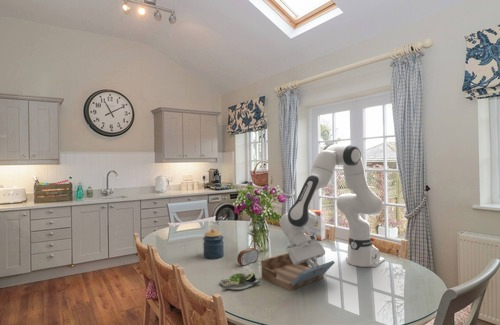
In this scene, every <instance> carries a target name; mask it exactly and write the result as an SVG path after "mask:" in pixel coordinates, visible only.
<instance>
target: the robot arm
mask: <svg viewBox="0 0 500 325" xmlns="http://www.w3.org/2000/svg"><path fill="white" fill-rule="evenodd" d="M337 166H342V170H343V177H344V183H345V187H346V188H347V189H349V190H350V191H352V192H353V193H343V194H339V196H338V197H337V198H336V207H337V209H338V210H339V211H340V212H341V213H342V214H343V215H344V217H345V219H346V220H347V223H348V233H349V236H348V246H347V254H346V255H347V256H345V259H346V261H347V264H349V265H352V266H355V267H362V268H364V267H367V268H368V267H371V268H377V267H378V266H379V265H380V264H382V263H384V262H385V258H384V257H382V256H381V255H380V250H379V249H378V248H377V247H376V246H375V245H374V244H373V242H375V240H376V239H375V237H371V226H370V224H369V222H368V221H367V220H365V219H363V217H361V215H368V216H371V215H378V214H380V213H381V212H382V211H383V208H384V203H383V200H382V198H381V197H380V196H378V195H376V193H375V192H374V191H373V190H372V189H371V188H370V187H369V184H368V182H367V177H366V172H365V166H364V162H363V159H362V153H361V150H360V148H359V147H358V146H356V145H352V144H342V143H340V144H328V145H326V146H323V148H322V150H321V151H319V153H318V154H317V156H316V158H315V160H314V161H313V164H312V166H311V167H312V168H311V169H310V172H309V173H308V174H309V175H308V177H307V178H306V180H305V182H304V183H303V185H302V188H301V190H300V192H299V193H298V194H299V195H298V196H297V198H296V200H295V202H294V203H293V205H292V206H291V207H290V208H289V210H288V211H287V212H285V213H284V214H283V215H282V216H281V217H280V219H279V225H280V228H281V230H282V232H283V234H284V235H285V236H286V238H287V239H288V242H289V243H290V245H287V247H286V251H287V253H289V256H290V259H291V261H292V263H293V264H295V265H297V264H300V263H303V262H307V264H309V266H310V267H312V268H314V267H317V266H319V265H320V264H319V263H318V259H319V258H322V257H323V256H324V255H326V249H325V248H324V247H323V245H322V244H321V242H319V240H317V238H316V237H315V236H311V235H307V234H306V231H307V230H309V229H310V228H312V227H314V225H315V224H316V221H317V218H316V215H315V214H314V213H313V212H312V211H310V210H309V207H310V204H311V201H312V200H313V197H314V195H315V193H316V192H317V191H318V190H320V189H323V188H326V187H327V186H329V184H330V182H331V180H332V178H333V176H334V173H335V170H336V167H337Z"/></svg>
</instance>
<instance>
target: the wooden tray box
mask: <svg viewBox="0 0 500 325" xmlns="http://www.w3.org/2000/svg"><path fill="white" fill-rule="evenodd" d="M260 262H261V279H263V280H265V281H267V282H270V283H272V284H275V285H277V286H279V287H281V288H283V289H285V290H288V291H291V290H294V289H296V288H299V287H302V286H304V285H307V284H310V283H312V282H314V281H317V280H319V279H322V278H324V276H325V274H323V275H320V276H317V277H315V278H312V279H309V280H307V281H304V282H302V283H299V284H296V285H294V286H293V285H292V284H291V283H292V282H293V281H294V280H295V279H296V278H297V276H298V275H299V274H300V273H301V272H302V271H305V270H308V269H311V268H312V267H311V266H310V265H309V264H307V262H303V263H300V264H297V265H295V264H293V263H292V261H291V259H290V256H289V253H288V252H286V253H282V254H278V255H275V256H272V257H267V258H265V259H262V260H261V261H260Z"/></svg>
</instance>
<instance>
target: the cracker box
mask: <svg viewBox="0 0 500 325" xmlns="http://www.w3.org/2000/svg"><path fill="white" fill-rule="evenodd" d="M308 210H310V211H312V212H313V213H314V214H315V215H316V218H317V221H316V224H315V225H314V227H312V228H310V229H309V230H307V231H305V234H307V235H311V236H315V237H316V238H317V239H316V241H323V240H325V239H326V213H325V210H317V209H309V208H308Z"/></svg>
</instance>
